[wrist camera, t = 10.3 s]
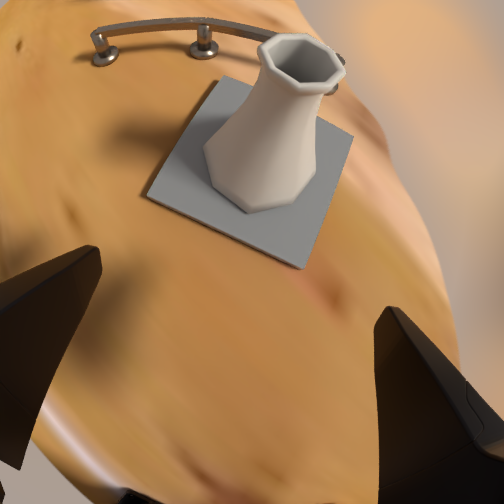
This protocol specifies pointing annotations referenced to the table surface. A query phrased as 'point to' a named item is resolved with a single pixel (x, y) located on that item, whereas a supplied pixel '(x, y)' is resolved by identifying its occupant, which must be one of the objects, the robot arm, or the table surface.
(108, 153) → the table surface
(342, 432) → the table surface
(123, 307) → the table surface
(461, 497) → the robot arm
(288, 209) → the slate coaster
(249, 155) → the flask
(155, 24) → the bent rail
